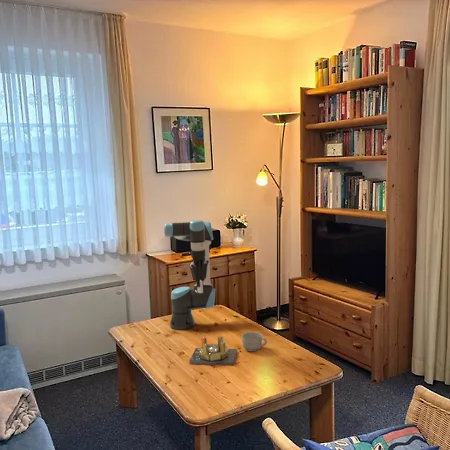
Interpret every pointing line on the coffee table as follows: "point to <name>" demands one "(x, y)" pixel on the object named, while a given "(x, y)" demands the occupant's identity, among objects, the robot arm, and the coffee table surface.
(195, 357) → the housing
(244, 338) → the teacup
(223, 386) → the coffee table surface
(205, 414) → the coffee table surface
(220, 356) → the ring nut
